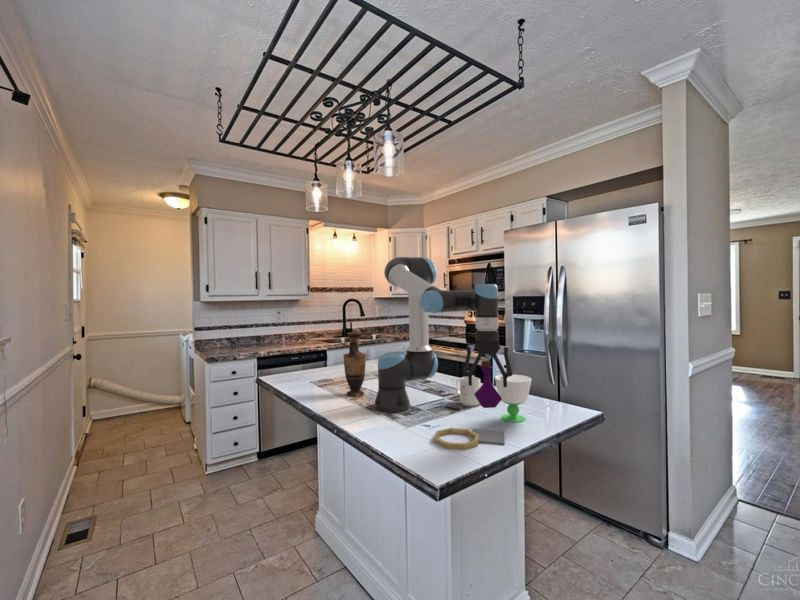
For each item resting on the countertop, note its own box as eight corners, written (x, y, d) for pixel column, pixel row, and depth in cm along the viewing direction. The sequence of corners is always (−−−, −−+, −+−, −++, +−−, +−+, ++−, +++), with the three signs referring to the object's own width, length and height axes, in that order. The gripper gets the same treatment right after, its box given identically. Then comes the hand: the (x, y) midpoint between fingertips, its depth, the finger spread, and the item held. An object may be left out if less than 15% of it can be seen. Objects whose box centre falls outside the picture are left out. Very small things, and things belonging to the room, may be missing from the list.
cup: (488, 419, 153) (488, 378, 152) (504, 410, 163) (504, 372, 163) (523, 427, 144) (522, 383, 143) (537, 417, 154) (537, 377, 154)
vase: (350, 391, 198) (349, 331, 197) (370, 392, 194) (369, 332, 193) (340, 396, 188) (338, 333, 187) (360, 398, 184) (359, 334, 183)
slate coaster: (470, 442, 130) (470, 440, 130) (472, 430, 141) (472, 428, 141) (504, 444, 128) (504, 443, 128) (504, 432, 138) (504, 431, 138)
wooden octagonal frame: (431, 446, 127) (431, 442, 127) (438, 431, 141) (438, 426, 141) (477, 450, 123) (477, 446, 123) (479, 434, 137) (479, 430, 137)
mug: (484, 404, 173) (484, 378, 173) (471, 408, 167) (471, 382, 167) (463, 398, 182) (463, 374, 182) (450, 402, 176) (450, 377, 176)
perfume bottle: (474, 403, 137) (473, 351, 137) (495, 402, 138) (494, 351, 137) (480, 409, 130) (479, 355, 129) (502, 408, 130) (501, 354, 130)
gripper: (453, 330, 132) (454, 397, 133) (520, 331, 127) (521, 400, 128) (456, 328, 140) (456, 391, 140) (519, 328, 134) (520, 394, 135)
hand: (487, 395), depth 134 cm, fingers closed on perfume bottle, 9 cm apart
